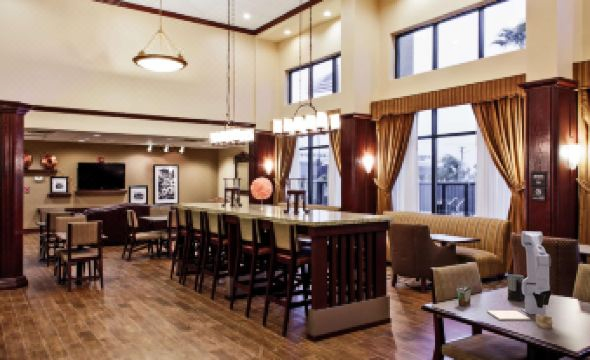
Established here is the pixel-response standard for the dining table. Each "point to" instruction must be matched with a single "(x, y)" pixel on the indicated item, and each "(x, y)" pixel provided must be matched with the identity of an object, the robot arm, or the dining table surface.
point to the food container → (464, 295)
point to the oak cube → (543, 320)
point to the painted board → (509, 316)
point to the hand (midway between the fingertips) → (542, 306)
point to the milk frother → (515, 288)
